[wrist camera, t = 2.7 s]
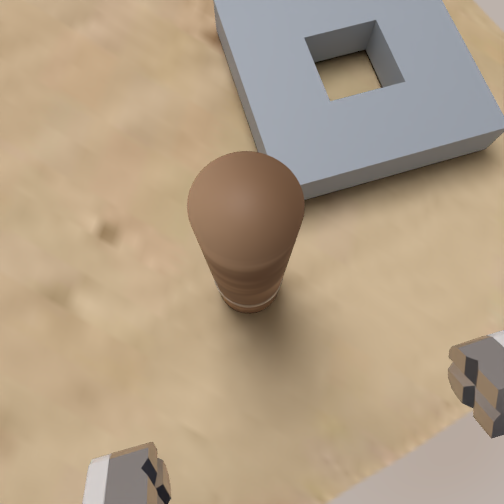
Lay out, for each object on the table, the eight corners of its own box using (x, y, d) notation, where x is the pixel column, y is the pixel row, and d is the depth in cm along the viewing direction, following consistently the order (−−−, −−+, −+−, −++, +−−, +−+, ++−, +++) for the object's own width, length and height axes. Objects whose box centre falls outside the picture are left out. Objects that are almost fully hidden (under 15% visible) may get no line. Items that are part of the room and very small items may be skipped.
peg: (227, 321, 23) (203, 276, 12) (211, 263, 24) (173, 167, 12) (287, 303, 23) (322, 242, 12) (268, 246, 24) (284, 137, 13)
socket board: (277, 207, 25) (279, 190, 23) (216, 29, 29) (213, -2, 26) (485, 148, 26) (509, 126, 24) (401, -16, 30) (415, -50, 27)
